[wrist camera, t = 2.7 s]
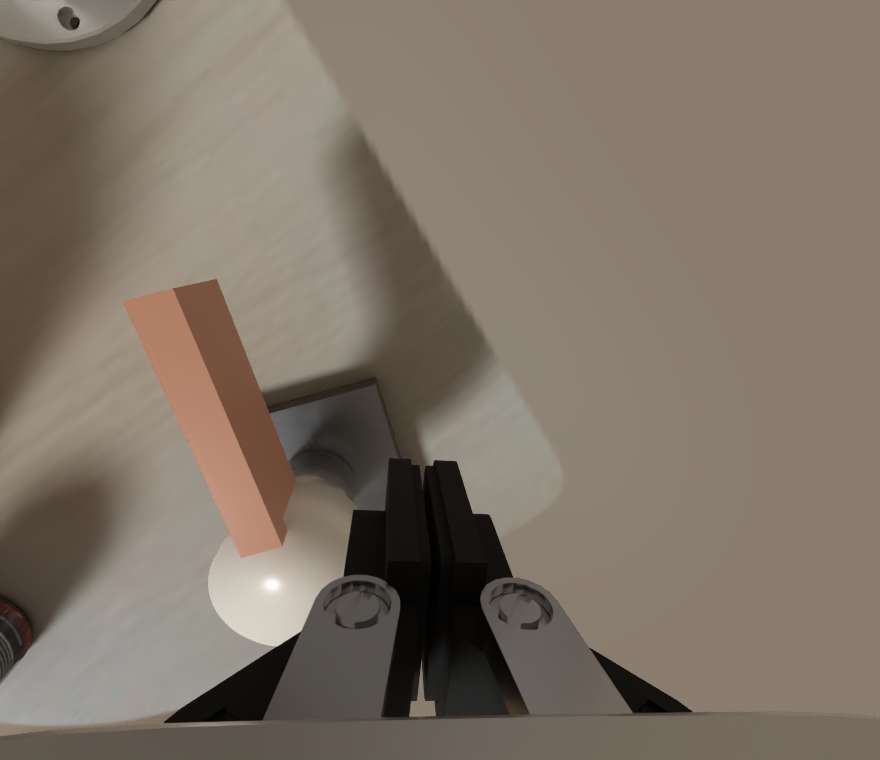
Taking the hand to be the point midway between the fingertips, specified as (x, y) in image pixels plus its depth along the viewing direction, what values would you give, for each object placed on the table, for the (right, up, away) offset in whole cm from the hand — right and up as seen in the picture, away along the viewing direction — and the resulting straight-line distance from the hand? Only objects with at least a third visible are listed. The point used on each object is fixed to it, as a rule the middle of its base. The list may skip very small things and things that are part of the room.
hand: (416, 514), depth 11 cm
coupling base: (-7, -2, +17) cm, 19 cm away
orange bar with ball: (-7, 0, +9) cm, 12 cm away
